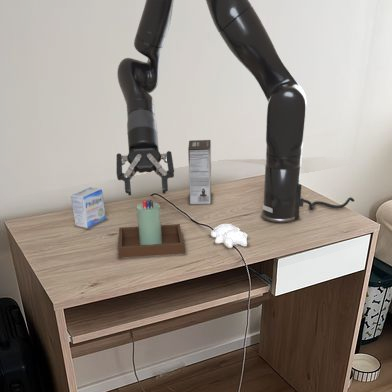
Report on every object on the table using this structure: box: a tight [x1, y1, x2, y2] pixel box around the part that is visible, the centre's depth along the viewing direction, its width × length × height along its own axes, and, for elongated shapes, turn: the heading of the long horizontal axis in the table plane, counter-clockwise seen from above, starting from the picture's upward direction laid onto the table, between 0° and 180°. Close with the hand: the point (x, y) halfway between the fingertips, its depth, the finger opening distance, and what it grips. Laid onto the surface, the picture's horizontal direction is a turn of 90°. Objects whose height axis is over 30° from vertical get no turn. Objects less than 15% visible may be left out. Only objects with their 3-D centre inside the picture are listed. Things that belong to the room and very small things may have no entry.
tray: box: [118, 223, 185, 259], centre depth 135 cm, size 16×13×3 cm
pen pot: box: [136, 199, 162, 245], centre depth 132 cm, size 6×6×12 cm
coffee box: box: [187, 139, 212, 205], centre depth 158 cm, size 9×6×16 cm
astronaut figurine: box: [210, 223, 248, 249], centre depth 137 cm, size 9×12×3 cm
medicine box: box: [70, 186, 106, 229], centre depth 147 cm, size 8×4×9 cm, turn 148°
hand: (146, 193), depth 134 cm, fingers open, 8 cm apart
